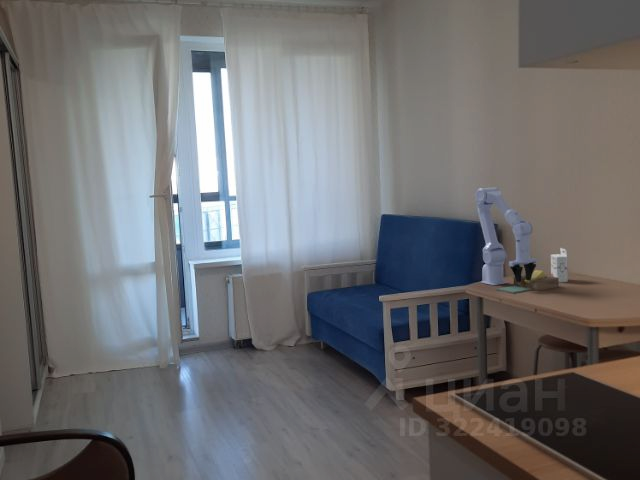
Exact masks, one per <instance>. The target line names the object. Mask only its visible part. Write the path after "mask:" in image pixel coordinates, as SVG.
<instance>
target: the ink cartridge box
mask: <svg viewBox="0 0 640 480" xmlns="http://www.w3.org/2000/svg"><path fill="white" fill-rule="evenodd" d="M559 248H560V249H559V250H560V254H559V253H556V254H555V253H554V254H550V276H551V277H557V278H558V282H559V283H567V282H568V281H569V277H568V276H569V273H568V272H569V271H568V252H567V249H565V248H563V247H559Z"/></svg>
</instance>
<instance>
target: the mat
mask: <svg viewBox="0 0 640 480" xmlns="http://www.w3.org/2000/svg"><path fill="white" fill-rule="evenodd" d="M529 290H530V291H532V289H528V288H523V287H518V286H514V285H510V286H506V287H505V286H504V287H499V288H496V291H500V292H504V293H510V294H517V293H523V292H530V291H529Z"/></svg>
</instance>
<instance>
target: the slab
mask: <svg viewBox="0 0 640 480" xmlns="http://www.w3.org/2000/svg"><path fill="white" fill-rule="evenodd" d="M545 276H546V275H545V271H544V270H539V269H534V271H533V273H532V277H531V280H532V279H538V278H544V277H545ZM524 282H525V284H526V285H528V286H529V280H526V279H525V280H524Z"/></svg>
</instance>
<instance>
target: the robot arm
mask: <svg viewBox="0 0 640 480" xmlns="http://www.w3.org/2000/svg"><path fill="white" fill-rule="evenodd" d="M474 199H475V203H476V210H477V213H478V218H479V221H480V226H481V229H482V234H483V238H484V241H485V245H484V247H483V248H482V259H483V262H484V263H485V264H483V266H482V271H481V272H482V273H481V274H482V275H481V277H482V278H481V279H482V280H481V282H480V283H481V284H486V285H492V286H499V285H505V284H508V283H509V282H508V281H505V280H504V278H505V277H504V264H505V262H506V260H507V258H508V254H507V251H506V250H505V248H504V245H503V244H502V243H500V242H499V241H498V236H497V232H496V228H495V225H494V221H493V216H492V213H491V209H492V207H493V206H494V205H495V206H496V207H497V208H498V209H499V211H501V212H502V213H503V215H504V220H505V221H506V222H507V223H508V224H509V225H510V227H511V228H512V229H511V230H512V233H513V235H514V239H515V256H516V257H515V260H511V261H508V267H510V269H511V271H512V273H513V275H514V277H515V279H516V282H521V276H522V272H523V268H524V270H525V271H524V272H525V274H524V275H526V280H531V277H532V273H533V272H534V271H535V270H536V267H537V263H538V258H536V257H535V258H534V257H532V258H531V246H530V245H531V238H530V237H531V236H530V235H531V234H532V232H533V225H532V223H531V222H530V221H526V220H524V219H523V217H522V216H521V214H519V212H518V211H517V210H516V209H512V208H511V207H510V206H509V204H508V203H507V202H506V200H505V199H504V197H503V196H502V191H500V189H499V188H498V187H486V188H481V187H480V188H478V189H477V190H476V192H475V194H474Z"/></svg>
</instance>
